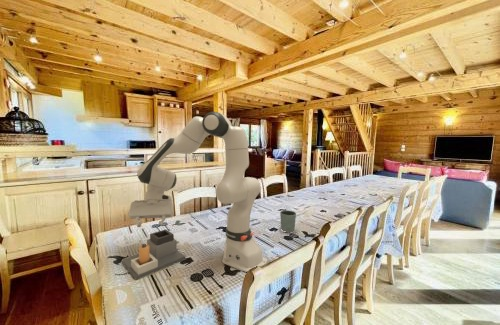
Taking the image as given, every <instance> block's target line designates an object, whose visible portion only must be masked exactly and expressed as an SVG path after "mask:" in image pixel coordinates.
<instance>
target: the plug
mask: <svg viewBox="0 0 500 325" xmlns="http://www.w3.org/2000/svg"><path fill="white" fill-rule="evenodd" d="M138 254H139V265H143V264H145V263H148V262H150V260H149V245H147V243H142V244H141V245H140V246H139V247H138Z"/></svg>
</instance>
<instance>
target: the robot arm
mask: <svg viewBox="0 0 500 325" xmlns="http://www.w3.org/2000/svg"><path fill="white" fill-rule="evenodd" d="M208 136H213V137H216V138H219V139H223V141H224V149H225V151H224V152H225V170H224V174H223V176H222V179H221V180H220V182H219V183H218V184H217V185H216V189H215V196H216V199H217V200H218V201H219V203H221V204H223V205H224V204H225V205H232V206H231V208H229V210H228V212H227V218H226V222H227V223H226V224H227V225H226V229H225V237H226V239H225V243H224V251H223V254H222V260H221V263H222V264H225V265H227V266H228V267H231V268H234V269H236V270H238V271H241V272H243V271H245V272H244V273H246V272H247V271H248V270H249V269H251V268H253V267H256V266H261V265H264V264H266V263H267V264H268V259H267V258H266V257H265V256H263V250H262V248H261V246H260V245H259V244H258V242H256V240H255V239H254V238H253V235H254V234H255V232H252V231H251V227H250V226H251V225H250V224H251V214H252V213H251V212H252V209H253V205H254V203H255V201H256V198H257V197H258V195H259V194H260V192H261V190H262V189H261V188H262V186H261V182H260V181H259V180H258V179H257V178H256V177H252V176H251V177H250V176H246V177H245V176H244V175H245V172H246V170H247V169H248V168H249V166H250V158H249V143H248V142H249V141H248V137H247V133H246V131H245V129H244V128H243V127H241V126H237V125H236V126H234V125H233V123H232V121H231V120H230V119H229V118H228V117H227V116H226V115H224V114H222V113H221V112H218V111H209V112H207V113H206V114H205V115H204V116H203V117H202V116H199V115H196V116H194V117H192V118H191V119H190V121H189V122H188V123H187V124H186V125H185V126H184V127H183V129H182V131H181V132H180V133H179V134H178V135H177V136H175V137H173V138H172V137H171V138H168V139H167V140H166V141H165V142H163V144H161V146H160V147H159V148H158V149H157V150H156V151H155V153H153V155H152V156H151V157H150V158H149V159H148V160H146V162H144V163H143V164H142V165H141V166H140V168H139V169H138V171H137V173H136V177H137V178H138V180H139V181H140V183H142V184H147V186H146V189H147V190H146V192H145V194H144V199H141V200H134V201H132V202H130V205H129V211H128V218H129V219H130V220H135V221H136V227H137V228H141V227H142V222H141V221H140V220H141V219H160V218H161V220H159V221H158V226H159V227H162V226H163V224H164V222H165V221H166V219H167V218H173V217H174V213H175V211H174V204H173V198H172V196H171V195H166V194H164V193H165V192H168V191H170V190H172V189H174V188H175V186H176V184H177V180H178V179H177V175H176V173H175V172H173V171H171V170H170V169H166V168H163V167H161V166H159V165H160V164H161V163H162V162H163V160H164V159H165V158H166V157H167V156H168V155H171V154H182V155H183V154H184V155H187V154H193V153H195V152H196V151H197V150H199V148H200V146H201V145H202V144H203V142H204V140H205V139H206V138H207V137H208ZM267 264H266V265H267Z"/></svg>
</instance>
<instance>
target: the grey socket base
mask: <svg viewBox="0 0 500 325" xmlns="http://www.w3.org/2000/svg"><path fill="white" fill-rule="evenodd" d="M177 242H178V241H177V239H176V238H175V236H174V233H172V232H171V231H169V230H167V228H166V229H162V230H159V231H158V230H157V231H156V232H151V233H150V234H149V239H147V240H146V245H149V260H150V262H148V263H145V264H143V265H139V253H137V254H135V255H131V256H129V257H126V258H123V259H121V263H122V265H123V266H124V267H125V268H126V270H127V271H128V273H130V275H131V276H132V277H133V278H134V279H135V280H136V281H137V280H139V279H140V280H141V279H142V278H144V277H147V276H149V275H152V274H154V273H157V272H159V271H161V270H163V269H165V268H168V267H170V266H172V265H175V264H177V263H180V262H182V261H184V260H186V255H184V254H183V253H182V252H180V251H179V250H178V249H177Z"/></svg>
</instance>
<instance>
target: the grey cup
mask: <svg viewBox="0 0 500 325" xmlns="http://www.w3.org/2000/svg"><path fill="white" fill-rule="evenodd" d="M296 218H297V213H296V211H293V210H288V209H286V210H280V230H281V229H282V230H283V231H286V232H293V231H294V232H295V229H296V227H295V226H296ZM294 232H293V233H294Z"/></svg>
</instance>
